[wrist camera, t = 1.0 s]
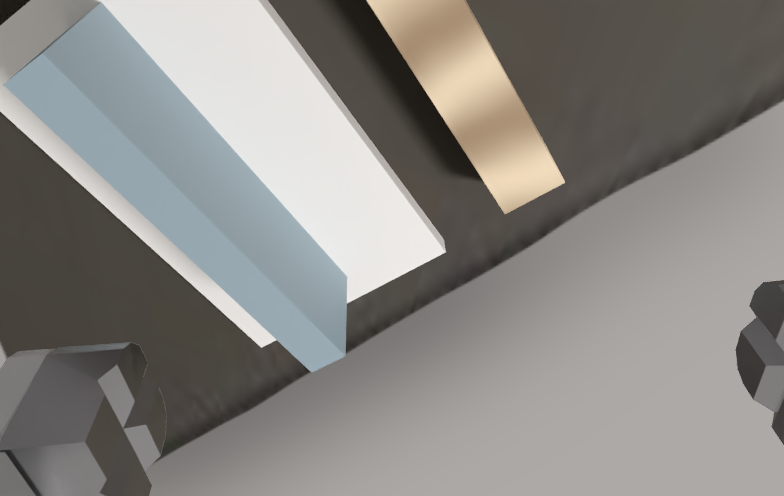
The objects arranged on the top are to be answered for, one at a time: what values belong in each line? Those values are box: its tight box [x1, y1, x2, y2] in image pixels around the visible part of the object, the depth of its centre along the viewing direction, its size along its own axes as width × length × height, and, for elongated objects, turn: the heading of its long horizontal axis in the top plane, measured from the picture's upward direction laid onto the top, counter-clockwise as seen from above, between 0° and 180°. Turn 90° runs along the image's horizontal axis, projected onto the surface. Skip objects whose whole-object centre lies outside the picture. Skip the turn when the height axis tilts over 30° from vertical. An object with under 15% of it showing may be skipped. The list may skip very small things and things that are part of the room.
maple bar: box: [367, 0, 565, 214], centre depth 33 cm, size 24×4×4 cm, turn 33°
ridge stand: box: [0, 0, 446, 372], centre depth 36 cm, size 16×26×9 cm, turn 32°
